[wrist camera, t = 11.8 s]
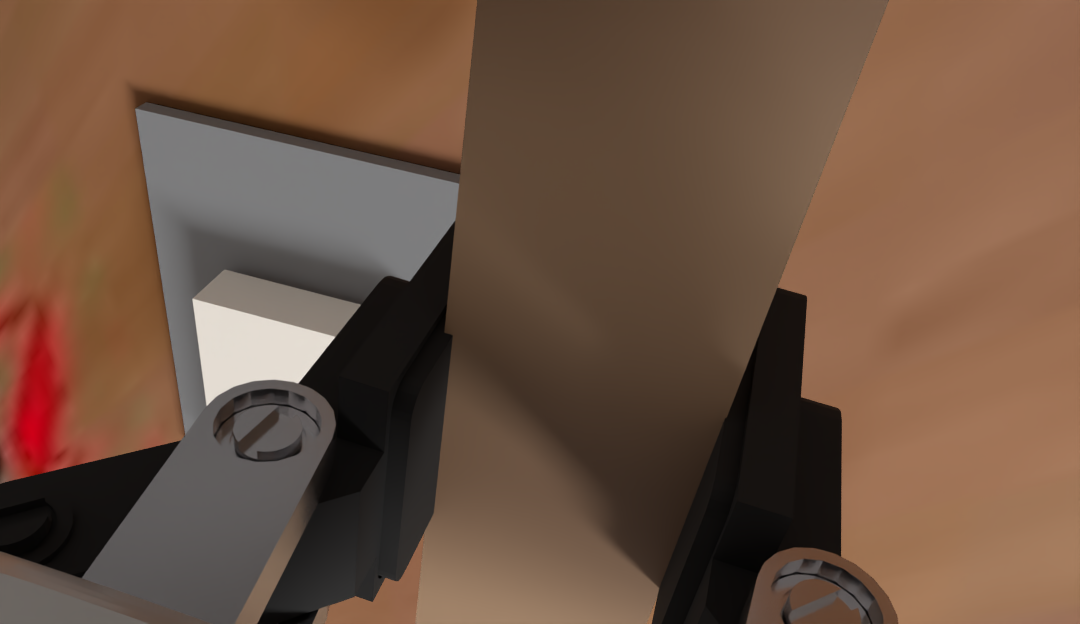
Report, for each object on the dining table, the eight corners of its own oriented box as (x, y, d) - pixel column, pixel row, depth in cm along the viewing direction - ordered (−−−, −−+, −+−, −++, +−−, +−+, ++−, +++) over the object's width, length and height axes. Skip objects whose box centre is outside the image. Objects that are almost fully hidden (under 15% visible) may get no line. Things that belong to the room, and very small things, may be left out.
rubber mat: (146, 102, 31) (134, 108, 30) (670, 223, 28) (667, 232, 27) (196, 447, 40) (188, 456, 39) (594, 564, 37) (591, 575, 37)
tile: (192, 298, 31) (219, 503, 37) (413, 357, 30) (405, 559, 35) (230, 264, 33) (250, 463, 39) (440, 317, 32) (428, 515, 37)
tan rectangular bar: (656, -555, 8) (541, -654, 5) (1019, -497, 7) (1110, -567, 5) (465, 623, 19) (399, 788, 16) (603, 671, 19) (558, 848, 16)
